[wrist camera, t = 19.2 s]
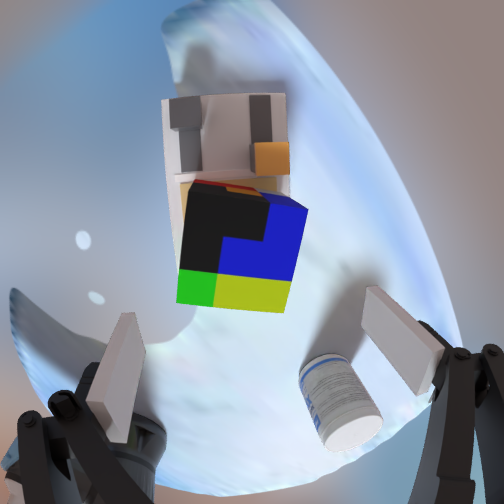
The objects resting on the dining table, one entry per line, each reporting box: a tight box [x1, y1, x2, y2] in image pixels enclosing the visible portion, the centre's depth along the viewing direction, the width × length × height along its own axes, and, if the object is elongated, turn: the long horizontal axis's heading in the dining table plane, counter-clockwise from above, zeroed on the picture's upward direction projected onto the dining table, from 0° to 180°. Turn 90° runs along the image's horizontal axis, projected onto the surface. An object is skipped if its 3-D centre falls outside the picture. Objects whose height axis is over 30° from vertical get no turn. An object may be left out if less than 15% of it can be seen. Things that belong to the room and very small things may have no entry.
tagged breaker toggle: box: [249, 142, 290, 176], centre depth 29 cm, size 3×3×5 cm
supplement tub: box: [298, 354, 383, 452], centre depth 41 cm, size 10×10×15 cm
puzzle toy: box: [176, 179, 308, 313], centre depth 30 cm, size 10×10×10 cm
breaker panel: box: [161, 93, 289, 275], centre depth 34 cm, size 14×21×2 cm, turn 3°
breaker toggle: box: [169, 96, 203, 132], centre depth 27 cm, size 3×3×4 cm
